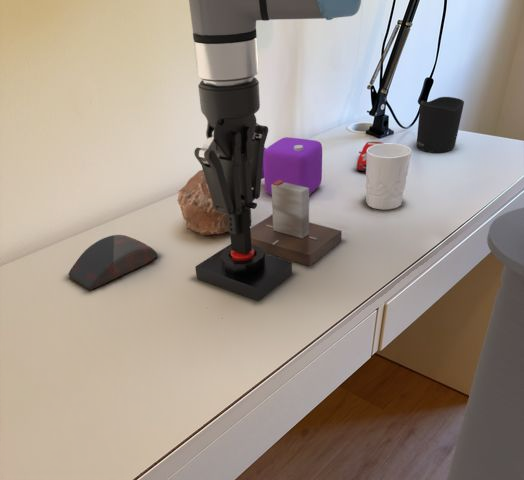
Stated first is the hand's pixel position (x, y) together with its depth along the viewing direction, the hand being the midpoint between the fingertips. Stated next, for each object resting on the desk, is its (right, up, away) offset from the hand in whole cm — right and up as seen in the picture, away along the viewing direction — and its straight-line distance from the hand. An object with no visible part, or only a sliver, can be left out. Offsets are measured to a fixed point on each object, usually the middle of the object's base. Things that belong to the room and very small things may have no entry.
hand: (241, 250), depth 80 cm
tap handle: (+8, +5, +10) cm, 13 cm away
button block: (0, -4, +3) cm, 5 cm away
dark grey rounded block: (-21, -2, +7) cm, 22 cm away
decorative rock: (-6, +7, +18) cm, 20 cm away
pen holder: (+44, +33, +45) cm, 71 cm away
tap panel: (+8, +3, +11) cm, 14 cm away
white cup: (+27, +13, +22) cm, 37 cm away
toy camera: (+8, +18, +29) cm, 35 cm away
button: (0, -2, +1) cm, 2 cm away
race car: (+28, +27, +39) cm, 55 cm away
